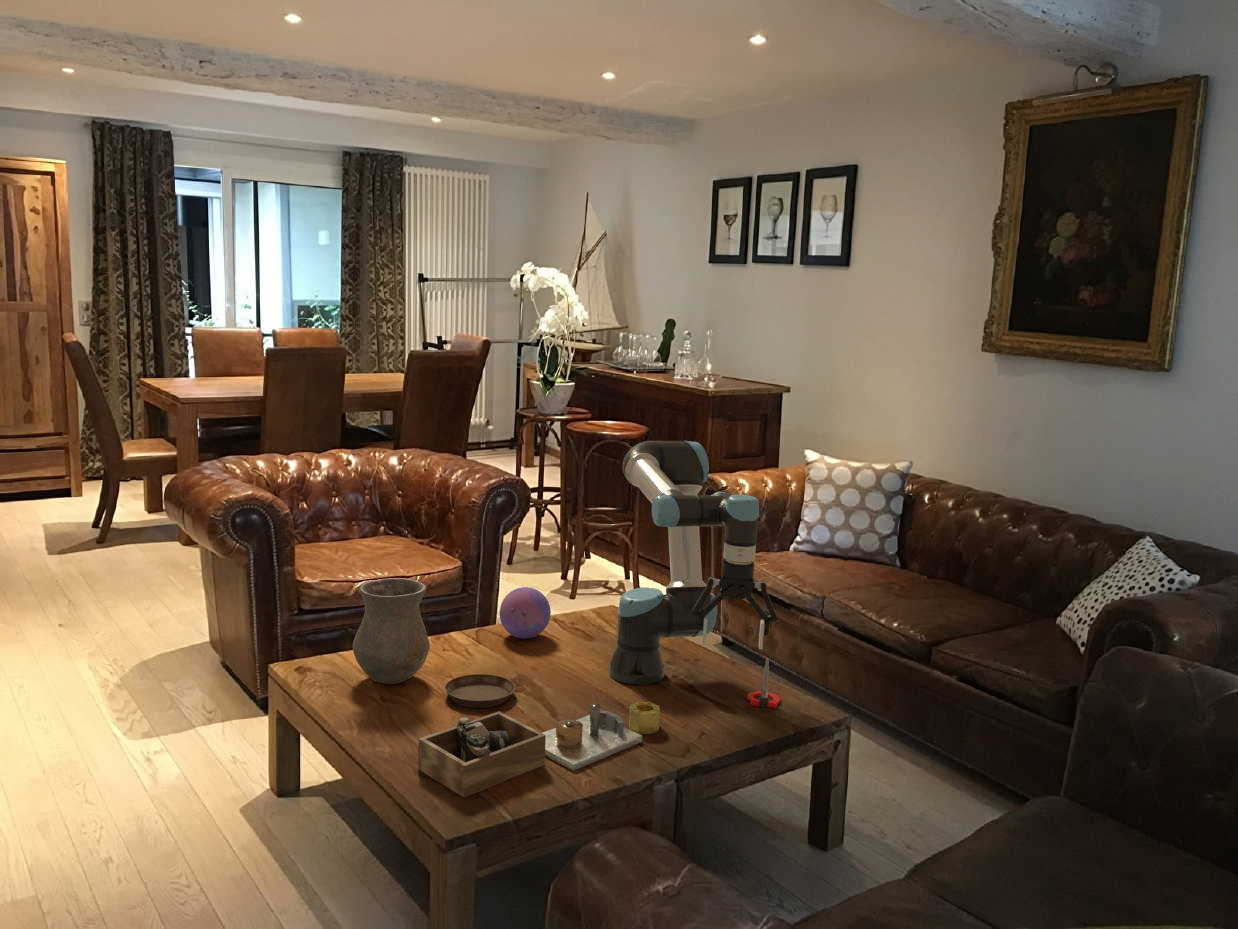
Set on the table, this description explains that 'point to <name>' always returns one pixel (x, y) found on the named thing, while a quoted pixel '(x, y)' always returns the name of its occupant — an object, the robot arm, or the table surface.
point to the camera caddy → (487, 770)
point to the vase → (391, 630)
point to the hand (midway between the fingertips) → (732, 645)
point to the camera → (478, 740)
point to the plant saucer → (479, 690)
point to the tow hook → (764, 693)
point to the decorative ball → (525, 612)
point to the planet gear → (644, 717)
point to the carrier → (588, 738)
